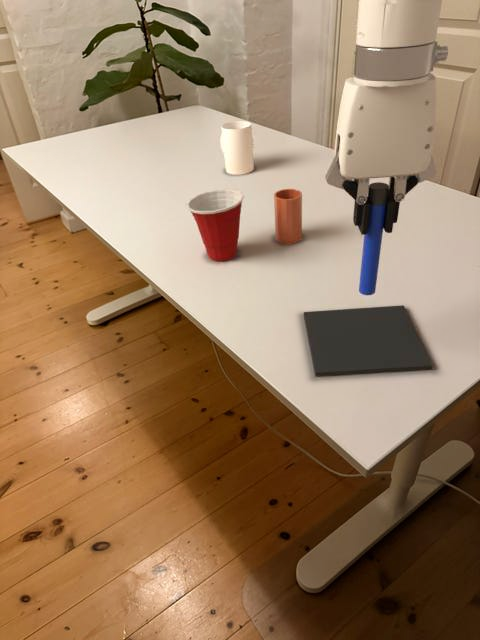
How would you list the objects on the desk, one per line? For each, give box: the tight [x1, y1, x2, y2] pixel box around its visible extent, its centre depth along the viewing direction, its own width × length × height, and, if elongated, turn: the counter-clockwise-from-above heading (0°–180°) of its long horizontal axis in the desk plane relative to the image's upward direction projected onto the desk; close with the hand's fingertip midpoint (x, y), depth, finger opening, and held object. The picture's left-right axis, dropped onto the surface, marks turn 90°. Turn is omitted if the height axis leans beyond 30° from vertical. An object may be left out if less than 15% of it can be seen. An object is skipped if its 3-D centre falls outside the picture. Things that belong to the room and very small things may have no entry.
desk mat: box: [303, 305, 434, 377], centre depth 69 cm, size 16×14×1 cm
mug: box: [219, 120, 255, 176], centre depth 128 cm, size 8×12×12 cm
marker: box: [358, 181, 389, 296], centre depth 59 cm, size 2×2×15 cm
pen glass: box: [273, 188, 303, 245], centre depth 94 cm, size 5×5×10 cm
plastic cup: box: [186, 188, 245, 262], centre depth 89 cm, size 11×11×12 cm
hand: (374, 227), depth 58 cm, fingers closed on marker, 2 cm apart
